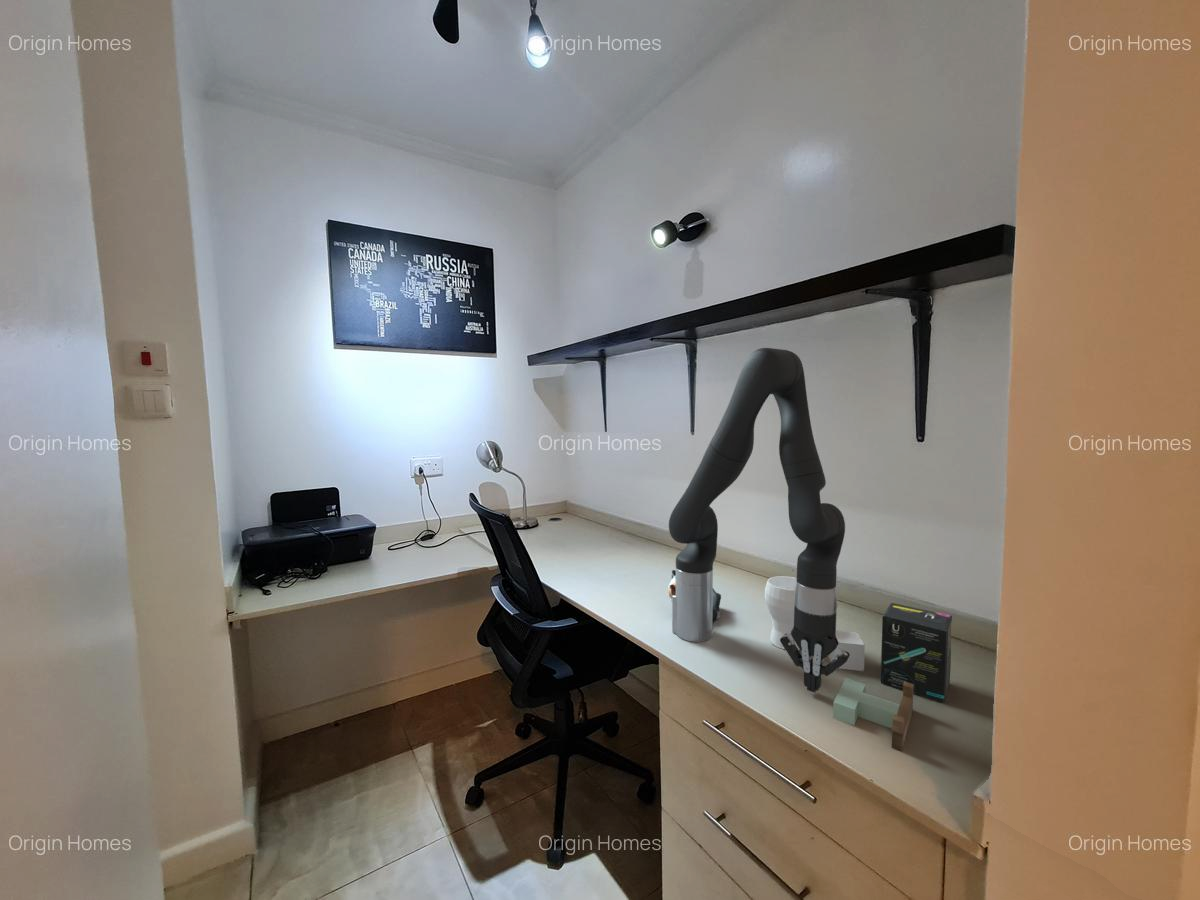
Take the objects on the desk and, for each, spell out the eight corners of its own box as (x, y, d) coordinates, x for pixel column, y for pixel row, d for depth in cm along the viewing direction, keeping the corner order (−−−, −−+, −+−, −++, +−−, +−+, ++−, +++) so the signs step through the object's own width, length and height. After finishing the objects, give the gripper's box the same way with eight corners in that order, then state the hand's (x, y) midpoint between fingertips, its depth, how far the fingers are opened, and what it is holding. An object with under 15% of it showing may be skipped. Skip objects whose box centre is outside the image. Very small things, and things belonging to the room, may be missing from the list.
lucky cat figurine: (718, 628, 120) (694, 585, 118) (678, 636, 126) (654, 594, 124) (726, 592, 133) (704, 552, 131) (689, 601, 139) (668, 563, 137)
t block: (832, 717, 85) (833, 702, 85) (845, 692, 92) (845, 678, 92) (893, 740, 79) (894, 723, 79) (901, 711, 86) (902, 696, 86)
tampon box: (950, 683, 95) (953, 614, 94) (945, 704, 88) (948, 630, 87) (888, 665, 102) (890, 600, 101) (879, 683, 95) (881, 614, 94)
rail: (891, 747, 77) (892, 718, 77) (903, 706, 88) (904, 681, 87) (902, 751, 76) (903, 722, 76) (912, 709, 87) (913, 684, 86)
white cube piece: (827, 654, 107) (828, 629, 107) (856, 657, 106) (856, 632, 105) (833, 668, 101) (834, 641, 101) (863, 671, 100) (864, 644, 100)
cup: (807, 635, 116) (808, 577, 115) (814, 656, 106) (816, 593, 105) (762, 630, 119) (763, 573, 118) (765, 650, 109) (766, 588, 108)
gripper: (774, 602, 92) (772, 686, 93) (848, 621, 83) (844, 712, 85) (786, 591, 97) (784, 670, 99) (857, 608, 89) (853, 693, 90)
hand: (812, 689), depth 92 cm, fingers closed
